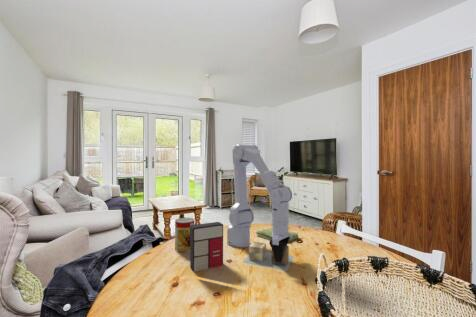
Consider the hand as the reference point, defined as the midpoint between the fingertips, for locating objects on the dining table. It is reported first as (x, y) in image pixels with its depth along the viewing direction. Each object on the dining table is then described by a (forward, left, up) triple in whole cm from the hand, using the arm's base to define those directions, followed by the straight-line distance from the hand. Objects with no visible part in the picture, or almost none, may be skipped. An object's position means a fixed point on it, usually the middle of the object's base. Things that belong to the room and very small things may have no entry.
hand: (280, 258), depth 83 cm
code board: (-4, +1, -2) cm, 5 cm away
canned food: (-40, -1, -2) cm, 41 cm away
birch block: (-8, 0, -1) cm, 9 cm away
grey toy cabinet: (-22, -13, -2) cm, 26 cm away
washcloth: (-8, +29, -3) cm, 30 cm away
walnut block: (0, 0, -1) cm, 1 cm away
